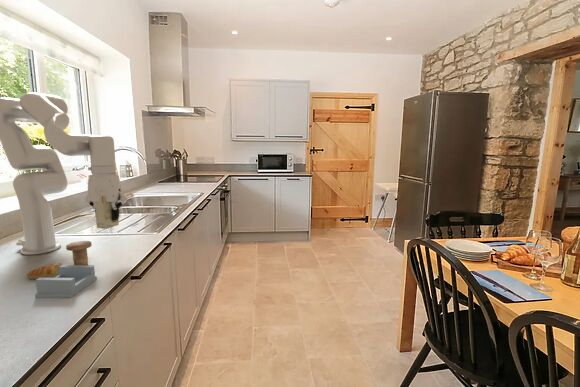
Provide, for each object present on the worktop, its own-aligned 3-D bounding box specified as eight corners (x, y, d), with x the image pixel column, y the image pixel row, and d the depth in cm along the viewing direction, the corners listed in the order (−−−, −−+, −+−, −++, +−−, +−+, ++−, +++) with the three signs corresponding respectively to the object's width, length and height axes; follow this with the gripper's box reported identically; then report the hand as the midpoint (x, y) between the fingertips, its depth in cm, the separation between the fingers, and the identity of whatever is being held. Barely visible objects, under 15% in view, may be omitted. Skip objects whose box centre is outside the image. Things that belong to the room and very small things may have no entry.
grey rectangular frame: (35, 297, 86) (33, 281, 85) (65, 278, 98) (63, 264, 97) (71, 297, 86) (69, 281, 85) (96, 278, 98) (95, 264, 97)
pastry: (23, 283, 95) (22, 271, 94) (32, 274, 101) (31, 263, 100) (59, 278, 98) (58, 267, 97) (66, 270, 104) (64, 260, 104)
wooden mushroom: (64, 276, 99) (60, 247, 97) (78, 267, 106) (75, 240, 104) (85, 276, 99) (82, 247, 97) (98, 267, 106) (95, 240, 104)
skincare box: (106, 229, 108) (104, 196, 106) (96, 228, 109) (93, 195, 107) (119, 224, 114) (117, 193, 112) (109, 223, 115) (107, 192, 113)
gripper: (72, 170, 104) (77, 221, 107) (122, 172, 104) (125, 222, 107) (86, 168, 111) (90, 216, 114) (133, 170, 112) (136, 217, 115)
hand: (107, 218), depth 111 cm, fingers closed on skincare box, 5 cm apart
